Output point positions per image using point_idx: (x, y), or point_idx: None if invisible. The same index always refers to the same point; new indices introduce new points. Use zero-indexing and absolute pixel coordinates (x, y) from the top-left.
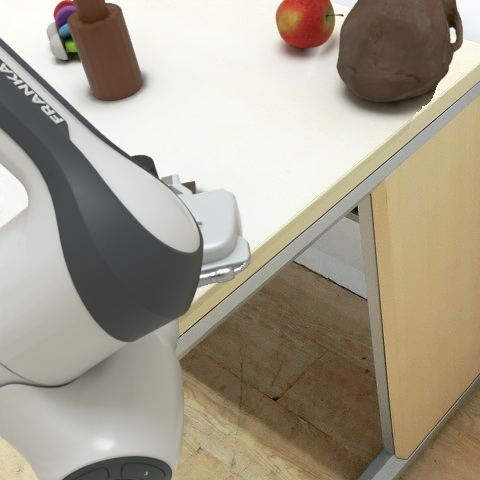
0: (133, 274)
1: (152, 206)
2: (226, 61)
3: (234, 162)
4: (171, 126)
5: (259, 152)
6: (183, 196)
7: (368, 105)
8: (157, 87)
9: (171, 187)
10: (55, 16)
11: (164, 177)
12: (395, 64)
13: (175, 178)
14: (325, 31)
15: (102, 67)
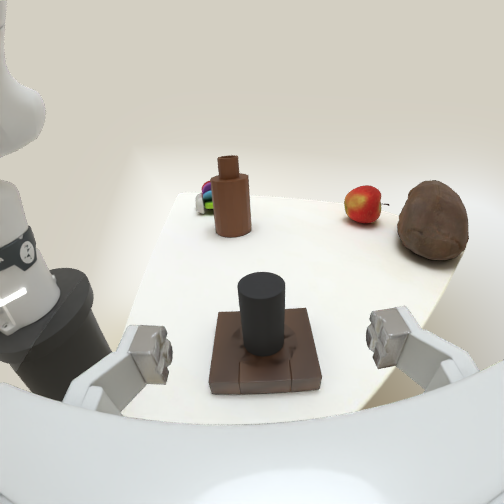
0: None
1: None
2: (309, 223)
3: (333, 294)
4: (273, 258)
5: (353, 288)
6: (459, 366)
7: (420, 262)
8: (261, 233)
9: (405, 337)
10: (202, 188)
11: (382, 311)
12: (450, 232)
13: (409, 316)
14: (378, 212)
15: (227, 211)
